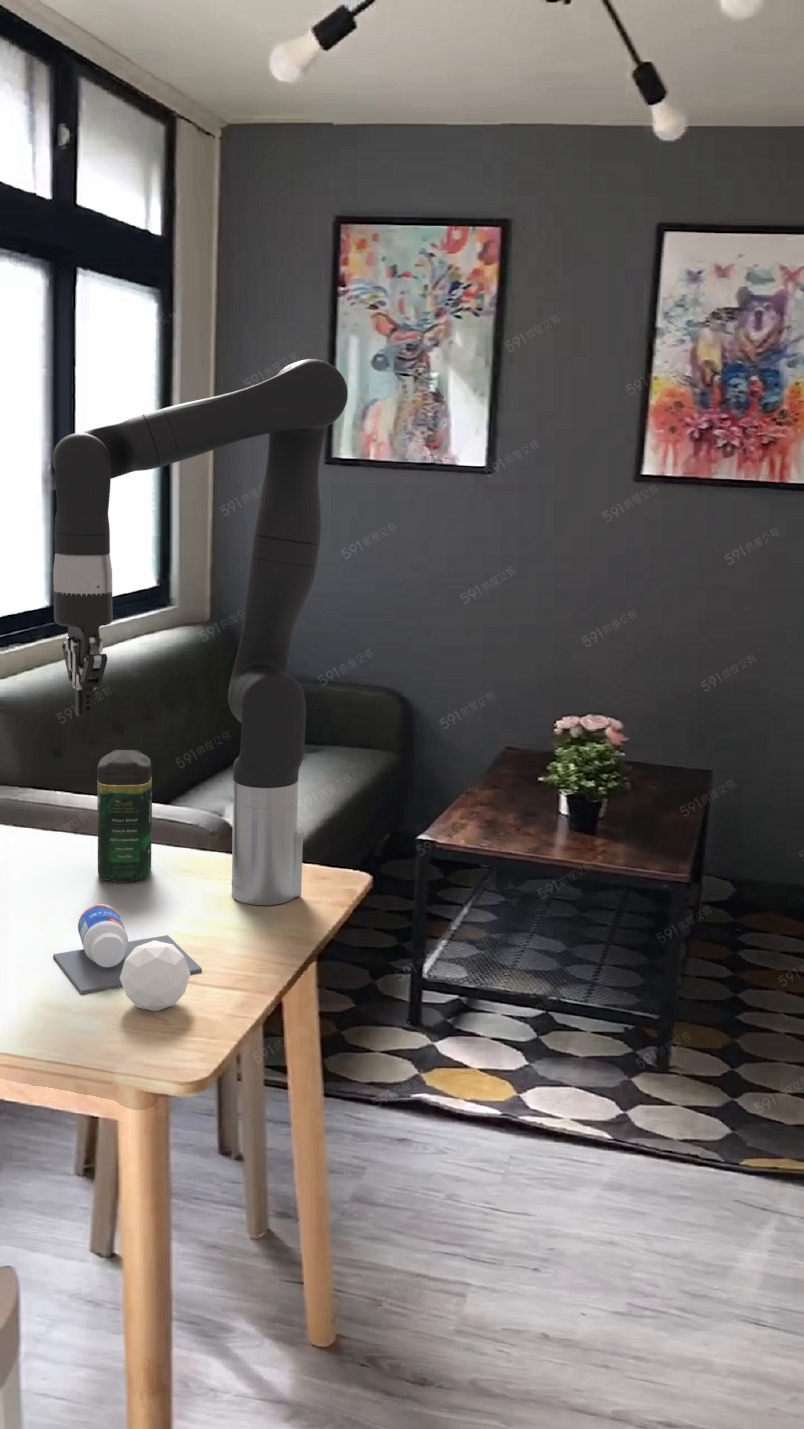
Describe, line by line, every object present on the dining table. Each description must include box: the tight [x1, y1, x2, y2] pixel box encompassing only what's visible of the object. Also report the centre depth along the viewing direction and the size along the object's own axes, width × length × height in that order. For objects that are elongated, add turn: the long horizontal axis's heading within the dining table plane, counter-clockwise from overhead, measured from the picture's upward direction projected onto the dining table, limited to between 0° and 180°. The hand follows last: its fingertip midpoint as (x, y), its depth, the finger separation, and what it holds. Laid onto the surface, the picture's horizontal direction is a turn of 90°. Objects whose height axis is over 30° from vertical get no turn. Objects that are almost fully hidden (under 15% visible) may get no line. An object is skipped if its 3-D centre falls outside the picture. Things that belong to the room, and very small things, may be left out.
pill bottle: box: [77, 903, 129, 967], centre depth 156 cm, size 6×5×10 cm
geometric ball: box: [120, 940, 191, 1012], centre depth 144 cm, size 8×8×8 cm
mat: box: [52, 934, 203, 995], centre depth 156 cm, size 15×12×1 cm
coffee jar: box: [96, 749, 153, 884], centre depth 187 cm, size 10×8×19 cm
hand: (85, 716), depth 169 cm, fingers closed
